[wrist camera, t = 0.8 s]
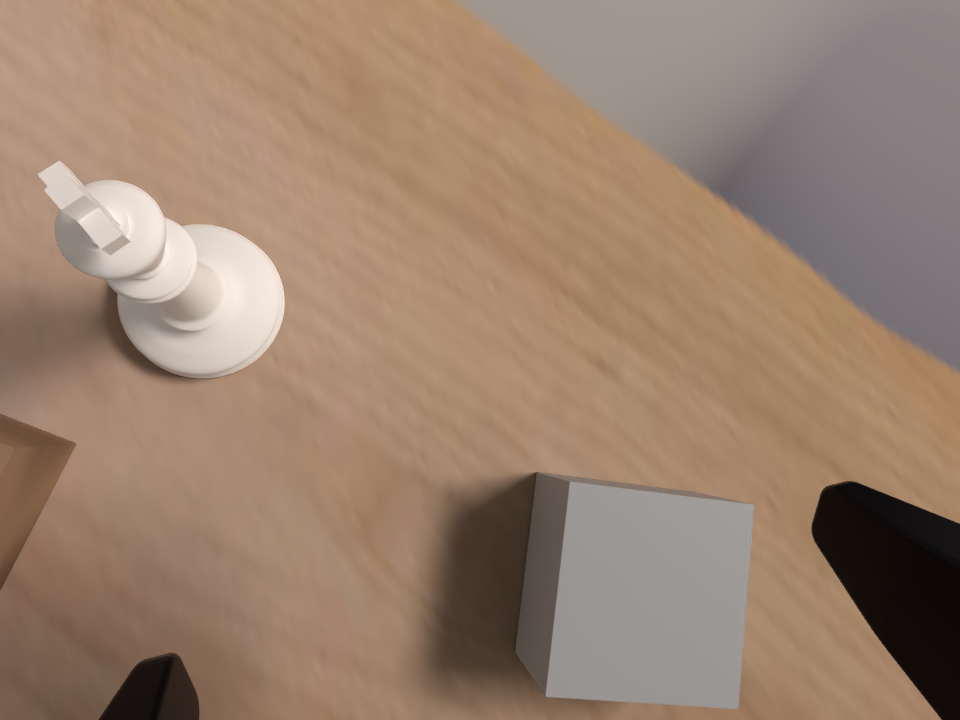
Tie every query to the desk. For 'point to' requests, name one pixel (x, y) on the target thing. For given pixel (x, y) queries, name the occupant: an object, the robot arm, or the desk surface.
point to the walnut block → (25, 482)
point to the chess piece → (170, 276)
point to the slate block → (635, 593)
